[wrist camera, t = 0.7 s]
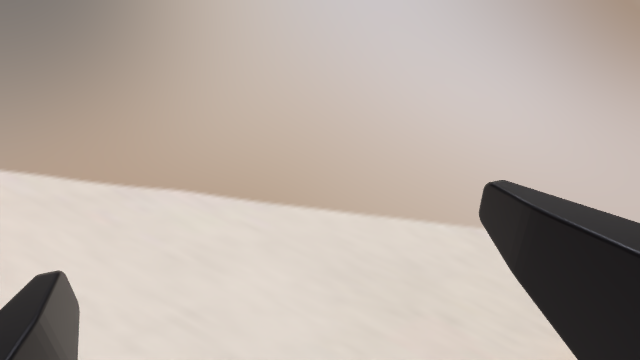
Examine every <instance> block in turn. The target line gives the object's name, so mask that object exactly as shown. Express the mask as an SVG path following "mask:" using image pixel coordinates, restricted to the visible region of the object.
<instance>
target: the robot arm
mask: <svg viewBox="0 0 640 360" xmlns="http://www.w3.org/2000/svg"><path fill="white" fill-rule="evenodd" d="M479 217H480V220H481V222H482V224H483V226H484V228H485V229H486V231H487V232H488V234H489V236H490V237H491V239H492V241H493V242H494V244H495V246H496V247H497V249H498V251H499V252H500V254H501V255H502V257H503V259H504V260H505V262H506V264H507V265H508V267H509V268H510V270H511V271H512V273H513V274H514V276H515V277H516V279H517V280H518V281H519V283H520V284H521V285H522V287H523V288H524V289H525V291H526V292H527V293H528V295H529V296H530V297H531V299H532V300H533V301H534V303H535V304H536V305H537V307H538V308H539V309H540V311H541V312H542V313H543V314H544V316H545V317H546V318H547V320H548V321H549V322H550V324H551V325H552V326H553V328H554V329H555V330H556V332H557V333H558V334H559V336H560V337H561V338H562V340H563V341H564V342H565V344H566V345H567V346H568V347H569V349H570V350H571V351H572V353H573V354H574V355H575V357H576V358H577V359H578V360H640V223H637V222H634V221H631V220H628V219H625V218H622V217H619V216H616V215H612V214H609V213H606V212H603V211H600V210H597V209H594V208H590V207H587V206H584V205H581V204H577V203H574V202H571V201H568V200H565V199H562V198H559V197H556V196H553V195H549V194H546V193H543V192H540V191H537V190H534V189H531V188H527V187H524V186H521V185H518V184H515V183H512V182H508V181H505V180H499V181H494V182H489V183H488V184H486V185H485V187H484V190H483V195H482V199H481V205H480V209H479ZM78 337H79V304H78V301H77V299H76V296H75V294H74V292H73V290H72V288H71V285H70V283H69V281H68V279H67V277H66V275H65V274H64V273H63V272H62V271H53V272H48V273H43V274H39V275H37V276H35V277H34V278H33V279H32V280H31V281H30V282H29V283H28V284H27V285H26V286H25V287H24V288H23V289H22V290H21V291H20V292H18V293H17V294H16V295H15V296H14V297H13V298H12V299H11V300H10V301H9V302H8V303H7V304H6V305H5V306H4V307H3V308H2V309H1V310H0V360H78Z"/></svg>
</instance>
